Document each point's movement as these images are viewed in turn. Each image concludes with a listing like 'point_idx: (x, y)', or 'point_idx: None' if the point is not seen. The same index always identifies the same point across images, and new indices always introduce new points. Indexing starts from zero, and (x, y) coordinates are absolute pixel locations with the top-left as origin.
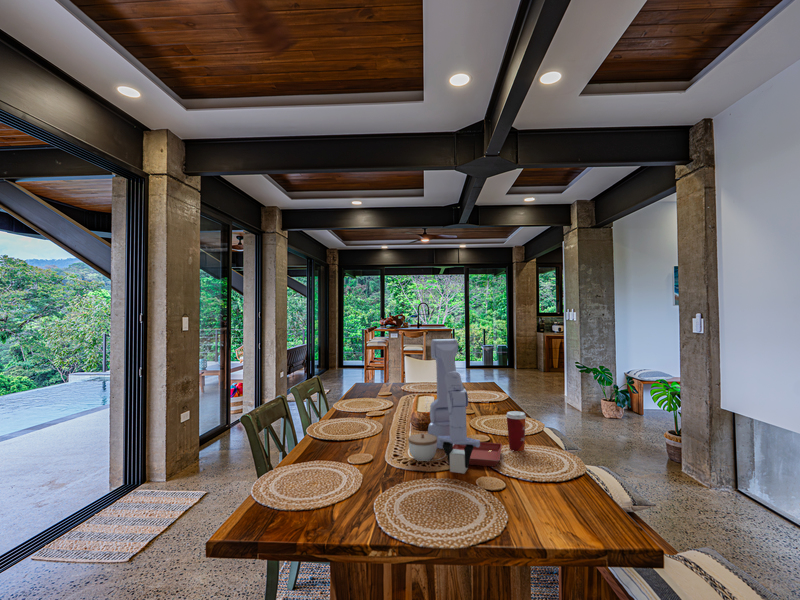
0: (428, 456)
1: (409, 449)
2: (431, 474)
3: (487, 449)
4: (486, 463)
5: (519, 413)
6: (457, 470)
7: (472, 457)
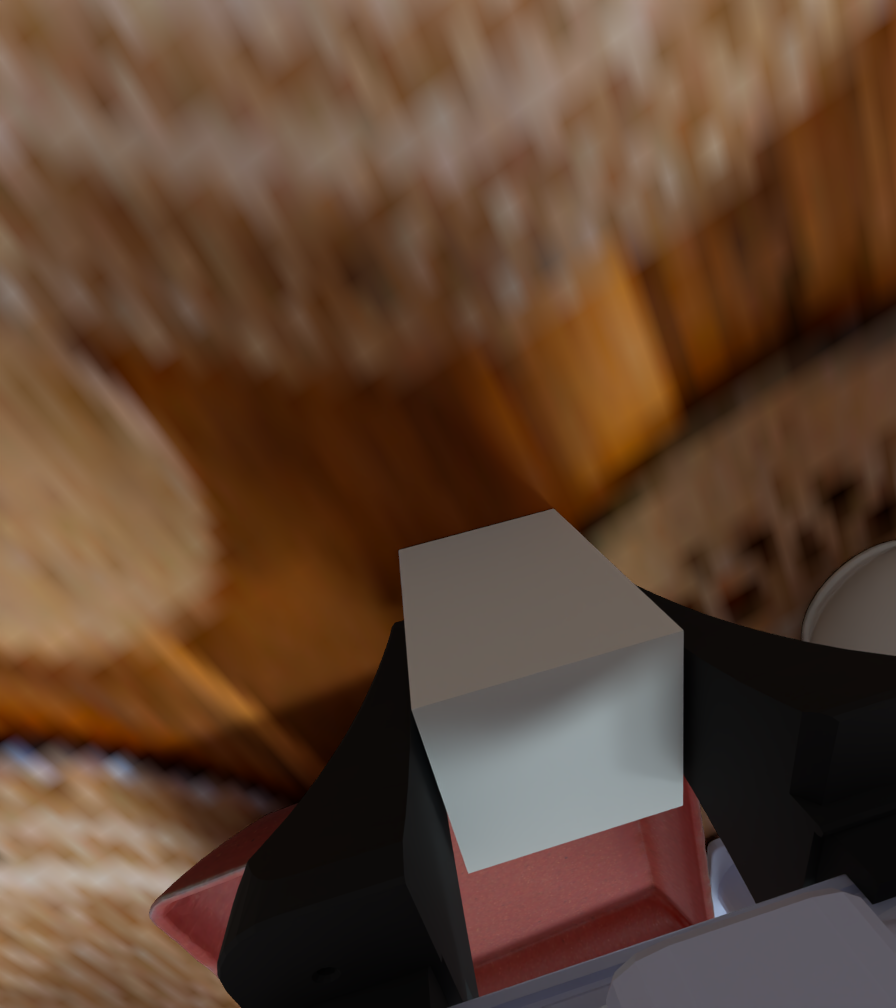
0: (877, 595)
1: None
2: (709, 322)
3: None
4: None
5: None
6: (478, 541)
7: None
